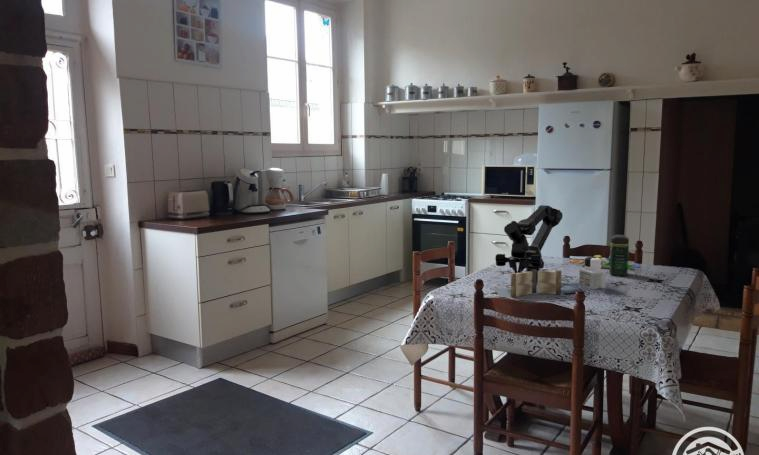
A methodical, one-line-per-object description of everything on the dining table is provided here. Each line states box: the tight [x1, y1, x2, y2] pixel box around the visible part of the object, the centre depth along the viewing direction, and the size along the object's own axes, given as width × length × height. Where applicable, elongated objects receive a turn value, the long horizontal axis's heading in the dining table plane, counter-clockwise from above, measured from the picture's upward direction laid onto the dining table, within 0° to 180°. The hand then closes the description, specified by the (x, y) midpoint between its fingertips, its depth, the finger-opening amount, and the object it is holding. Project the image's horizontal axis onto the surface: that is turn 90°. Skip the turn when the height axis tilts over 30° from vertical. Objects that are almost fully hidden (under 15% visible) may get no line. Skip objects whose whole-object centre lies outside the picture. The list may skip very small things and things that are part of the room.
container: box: [578, 256, 607, 290], centre depth 246 cm, size 8×8×13 cm
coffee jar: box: [609, 234, 630, 277], centre depth 270 cm, size 10×8×19 cm
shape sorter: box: [569, 254, 640, 271], centre depth 293 cm, size 34×19×5 cm, turn 58°
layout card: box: [493, 287, 567, 298], centre depth 239 cm, size 15×26×1 cm, turn 92°
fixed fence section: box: [537, 269, 563, 294], centre depth 234 cm, size 9×2×10 cm, turn 72°
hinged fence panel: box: [510, 269, 538, 298], centre depth 233 cm, size 13×2×9 cm, turn 121°
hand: (517, 277), depth 241 cm, fingers closed
